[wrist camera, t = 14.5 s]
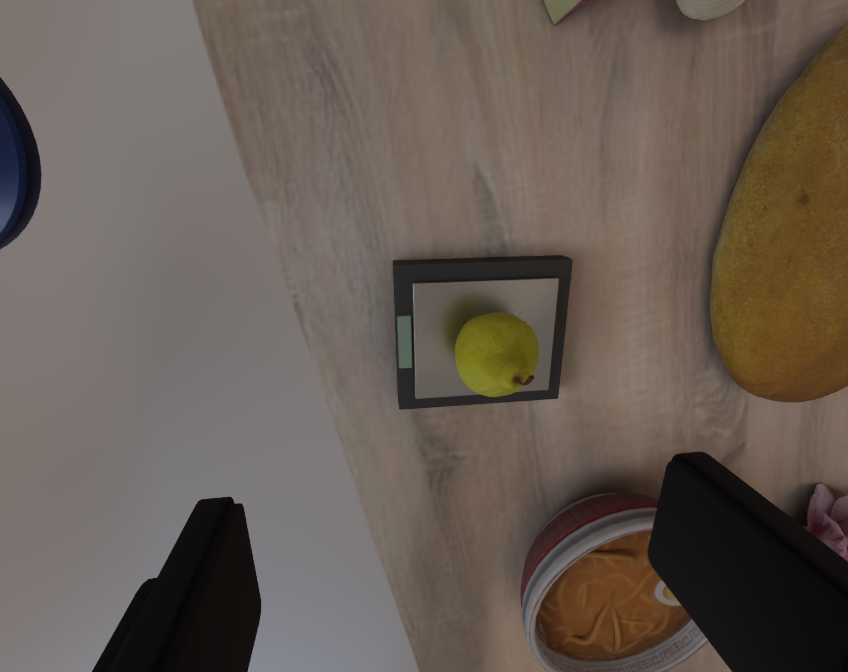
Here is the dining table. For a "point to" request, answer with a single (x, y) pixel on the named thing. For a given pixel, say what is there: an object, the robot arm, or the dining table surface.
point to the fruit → (496, 354)
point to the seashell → (707, 8)
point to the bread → (790, 244)
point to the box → (561, 8)
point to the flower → (829, 519)
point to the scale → (473, 270)
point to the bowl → (602, 592)
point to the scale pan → (460, 302)
